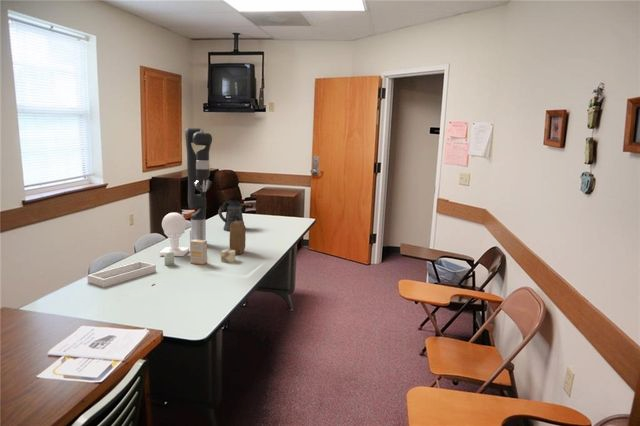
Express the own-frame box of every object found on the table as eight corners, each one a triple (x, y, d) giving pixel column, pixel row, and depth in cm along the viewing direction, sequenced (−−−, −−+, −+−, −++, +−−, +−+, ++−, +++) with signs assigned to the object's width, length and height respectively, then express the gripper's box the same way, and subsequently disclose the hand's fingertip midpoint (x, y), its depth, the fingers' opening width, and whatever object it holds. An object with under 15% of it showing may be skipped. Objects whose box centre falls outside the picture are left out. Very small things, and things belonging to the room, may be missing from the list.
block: (239, 255, 250) (239, 223, 247) (228, 254, 252) (228, 222, 249) (247, 251, 260) (247, 220, 257) (236, 250, 262) (236, 219, 259)
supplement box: (207, 263, 232) (207, 240, 230) (202, 265, 228) (202, 242, 226) (195, 261, 235) (194, 238, 233) (190, 263, 231) (189, 240, 228)
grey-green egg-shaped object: (162, 264, 226) (162, 252, 225) (169, 262, 230) (169, 250, 229) (169, 266, 224) (168, 253, 223) (176, 264, 228) (176, 251, 227)
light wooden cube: (221, 261, 236) (221, 251, 235) (225, 259, 242) (225, 249, 241) (230, 262, 235) (230, 252, 234) (235, 260, 240) (235, 250, 239)
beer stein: (249, 231, 317) (250, 199, 313) (231, 236, 301) (231, 202, 297) (234, 228, 326) (234, 197, 322) (215, 232, 310) (215, 199, 306)
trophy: (166, 250, 256) (165, 210, 252) (189, 250, 257) (188, 211, 253) (159, 256, 242) (158, 214, 238) (183, 256, 243) (182, 214, 239)
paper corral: (87, 282, 195) (87, 275, 194) (140, 267, 220) (140, 261, 219) (103, 287, 189) (103, 279, 188) (155, 271, 214) (155, 264, 214)
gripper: (206, 167, 245) (206, 196, 247) (189, 168, 233) (189, 198, 236) (215, 168, 241) (215, 197, 244) (199, 169, 230) (199, 199, 232)
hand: (203, 198), depth 240 cm, fingers closed
